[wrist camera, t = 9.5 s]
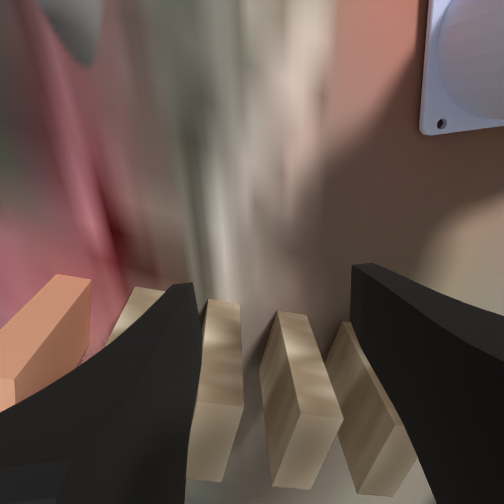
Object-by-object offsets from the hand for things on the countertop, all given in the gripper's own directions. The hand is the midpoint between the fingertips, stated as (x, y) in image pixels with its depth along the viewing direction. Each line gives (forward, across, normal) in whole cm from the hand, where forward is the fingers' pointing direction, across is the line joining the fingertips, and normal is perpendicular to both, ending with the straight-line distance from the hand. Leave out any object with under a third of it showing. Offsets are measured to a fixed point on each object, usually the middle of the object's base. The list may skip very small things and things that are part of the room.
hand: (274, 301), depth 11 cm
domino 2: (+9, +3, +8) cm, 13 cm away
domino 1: (+9, +12, +5) cm, 16 cm away
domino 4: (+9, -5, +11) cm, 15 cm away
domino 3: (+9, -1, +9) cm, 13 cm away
